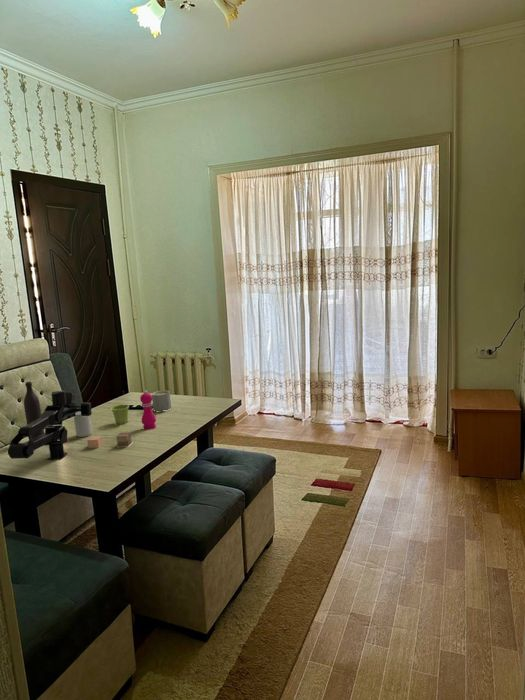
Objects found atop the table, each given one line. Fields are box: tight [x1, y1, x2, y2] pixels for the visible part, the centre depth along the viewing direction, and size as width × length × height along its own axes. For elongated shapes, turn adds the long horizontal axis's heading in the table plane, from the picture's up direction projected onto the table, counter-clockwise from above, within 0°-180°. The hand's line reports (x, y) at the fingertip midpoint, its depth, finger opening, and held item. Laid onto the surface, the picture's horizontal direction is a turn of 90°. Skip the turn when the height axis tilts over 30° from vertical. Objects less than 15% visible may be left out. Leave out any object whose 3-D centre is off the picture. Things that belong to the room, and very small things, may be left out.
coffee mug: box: [151, 390, 172, 411], centre depth 283 cm, size 13×10×10 cm
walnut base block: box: [116, 431, 133, 448], centre depth 227 cm, size 5×5×5 cm
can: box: [73, 411, 93, 438], centre depth 247 cm, size 8×8×12 cm
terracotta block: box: [86, 435, 104, 449], centre depth 228 cm, size 5×5×5 cm
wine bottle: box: [23, 381, 45, 438], centre depth 243 cm, size 7×7×30 cm
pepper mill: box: [139, 390, 157, 431], centre depth 250 cm, size 7×7×20 cm
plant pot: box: [110, 404, 130, 425], centre depth 264 cm, size 9×9×9 cm
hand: (80, 405), depth 243 cm, fingers open, 9 cm apart
